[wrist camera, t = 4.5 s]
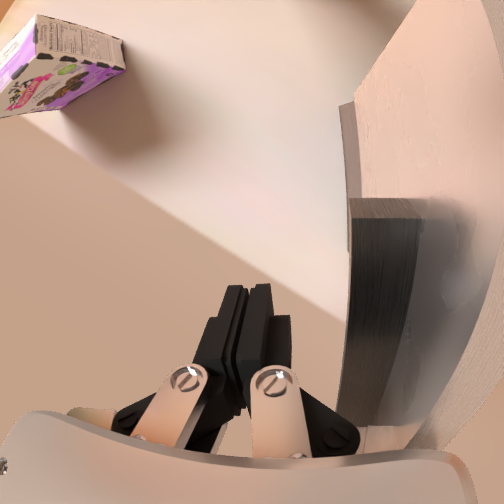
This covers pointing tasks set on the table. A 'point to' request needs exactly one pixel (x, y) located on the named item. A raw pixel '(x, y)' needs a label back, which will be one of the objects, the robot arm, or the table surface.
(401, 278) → the lid
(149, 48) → the table surface
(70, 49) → the candy box
